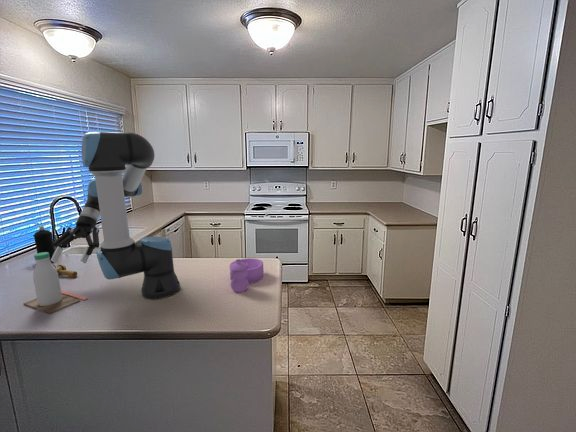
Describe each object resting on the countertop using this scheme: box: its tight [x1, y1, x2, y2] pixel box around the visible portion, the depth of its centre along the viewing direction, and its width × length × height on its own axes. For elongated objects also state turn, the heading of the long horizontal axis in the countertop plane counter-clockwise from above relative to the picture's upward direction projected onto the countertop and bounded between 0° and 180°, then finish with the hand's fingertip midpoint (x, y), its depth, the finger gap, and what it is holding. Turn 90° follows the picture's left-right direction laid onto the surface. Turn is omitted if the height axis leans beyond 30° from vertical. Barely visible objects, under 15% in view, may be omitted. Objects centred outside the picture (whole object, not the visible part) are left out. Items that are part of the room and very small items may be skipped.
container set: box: [229, 258, 265, 293], centre depth 140 cm, size 25×15×13 cm, turn 174°
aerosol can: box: [33, 225, 55, 264], centre depth 172 cm, size 8×8×20 cm
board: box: [23, 294, 81, 315], centre depth 125 cm, size 18×11×1 cm, turn 64°
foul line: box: [61, 289, 89, 302], centre depth 131 cm, size 20×2×1 cm, turn 64°
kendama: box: [52, 263, 78, 279], centre depth 152 cm, size 8×6×18 cm
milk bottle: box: [32, 252, 63, 306], centre depth 122 cm, size 8×8×20 cm
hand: (68, 261), depth 133 cm, fingers open, 13 cm apart
